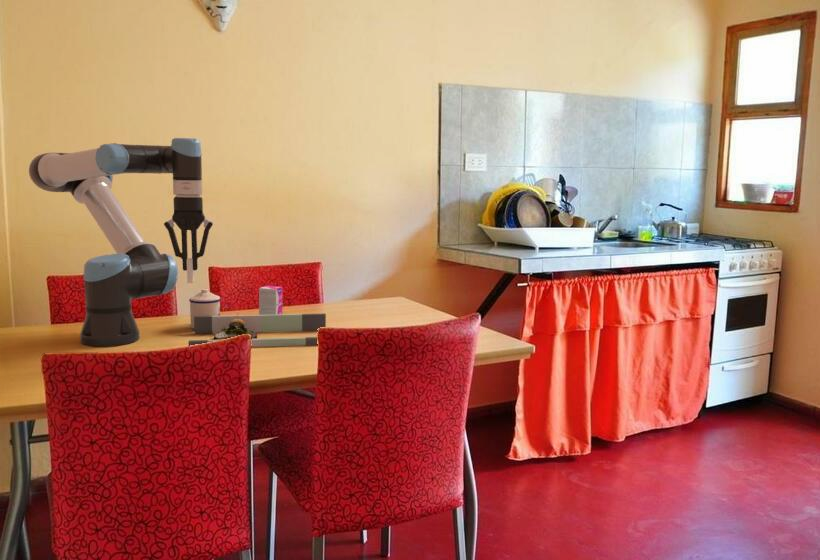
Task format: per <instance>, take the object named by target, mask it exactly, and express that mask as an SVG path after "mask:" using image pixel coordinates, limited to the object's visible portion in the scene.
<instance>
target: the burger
mask: <svg viewBox="0 0 820 560" xmlns="http://www.w3.org/2000/svg"><path fill="white" fill-rule="evenodd" d="M244 326H245V323H244V321H243V320H241V319H238V318H237V319H234V320H232V321H231V322H230V323H229V327H230V328H227V329H225V328H224V329H222V330H221V332H219V333H214V334H213V340H222V339H227V338H231V337H235V336H238V335H242V334H250V335H251V338H252V339H258V332H253V331H248V329H247V328H245V327H244ZM223 327H224V326H223Z"/></svg>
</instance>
